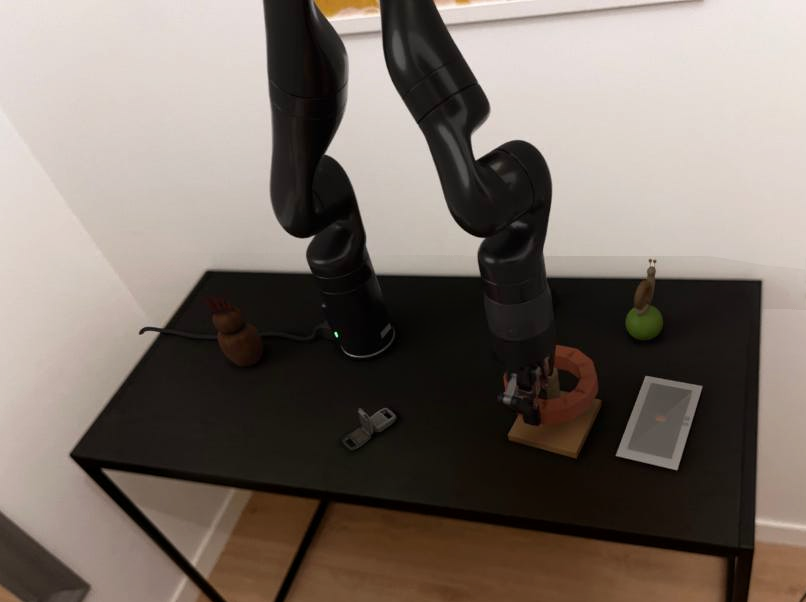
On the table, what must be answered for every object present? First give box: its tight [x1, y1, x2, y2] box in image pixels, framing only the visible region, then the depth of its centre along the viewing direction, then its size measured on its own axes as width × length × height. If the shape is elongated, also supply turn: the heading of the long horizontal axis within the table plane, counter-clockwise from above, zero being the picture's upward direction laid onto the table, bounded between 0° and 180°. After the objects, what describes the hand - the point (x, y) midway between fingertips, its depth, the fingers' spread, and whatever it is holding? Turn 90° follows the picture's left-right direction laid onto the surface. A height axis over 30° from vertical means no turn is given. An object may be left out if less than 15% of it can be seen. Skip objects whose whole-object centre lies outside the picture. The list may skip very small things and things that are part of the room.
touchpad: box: [615, 375, 704, 471], centre depth 95 cm, size 8×15×2 cm, turn 154°
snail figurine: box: [625, 258, 664, 341], centre depth 105 cm, size 5×6×12 cm
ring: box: [502, 344, 599, 425], centre depth 94 cm, size 12×12×3 cm
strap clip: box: [341, 407, 397, 451], centre depth 104 cm, size 8×3×4 cm, turn 128°
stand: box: [507, 367, 602, 459], centre depth 96 cm, size 10×10×10 cm
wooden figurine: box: [201, 293, 264, 367], centre depth 118 cm, size 7×6×15 cm
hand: (536, 415), depth 92 cm, fingers closed on ring, 2 cm apart
